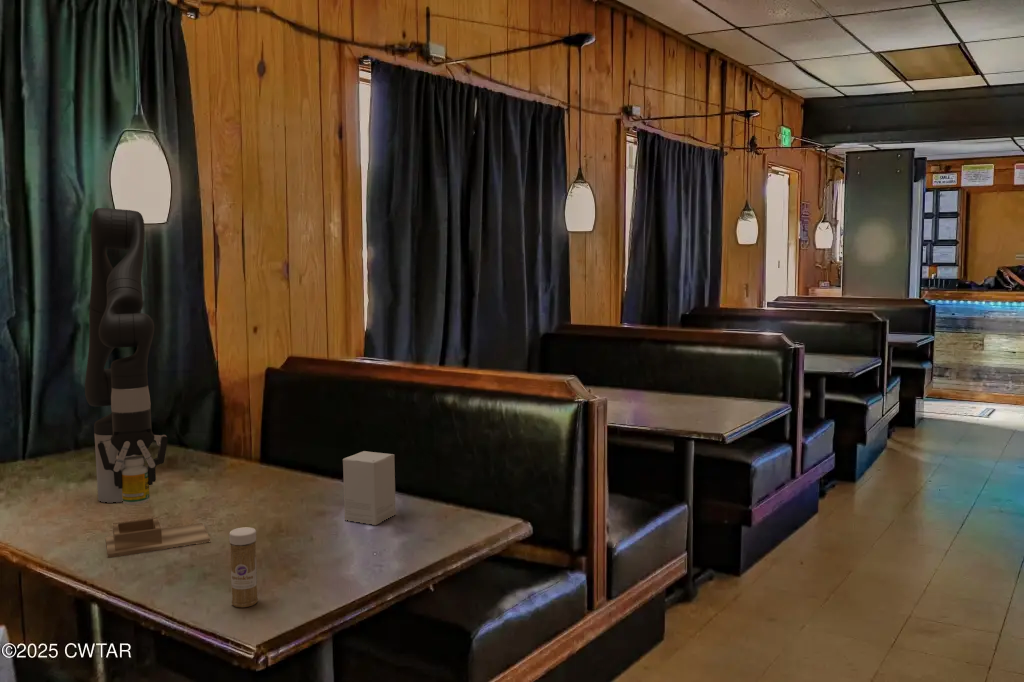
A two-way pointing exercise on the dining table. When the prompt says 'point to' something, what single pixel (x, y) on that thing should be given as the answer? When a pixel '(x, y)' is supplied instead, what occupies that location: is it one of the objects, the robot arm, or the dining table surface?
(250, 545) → the sprinkles bottle
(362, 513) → the supplement box
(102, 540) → the dining table surface
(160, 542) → the wooden stand
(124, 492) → the supplement bottle
